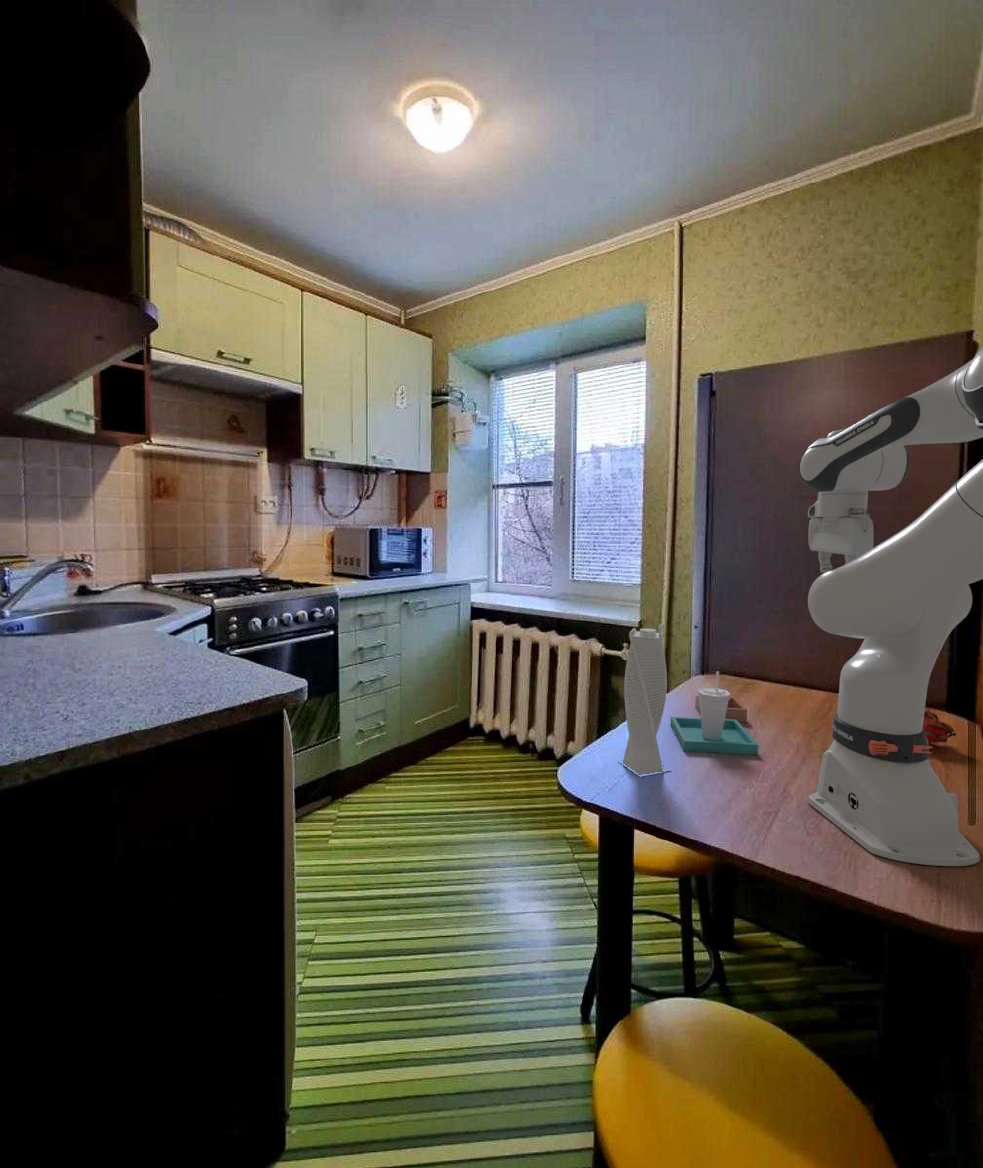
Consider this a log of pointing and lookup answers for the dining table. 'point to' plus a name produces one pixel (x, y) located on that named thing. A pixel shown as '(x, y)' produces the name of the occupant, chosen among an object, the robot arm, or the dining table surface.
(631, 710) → the skyscraper
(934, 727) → the dragon fruit
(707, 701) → the smoothie
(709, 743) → the tray
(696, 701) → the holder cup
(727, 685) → the dining table surface
